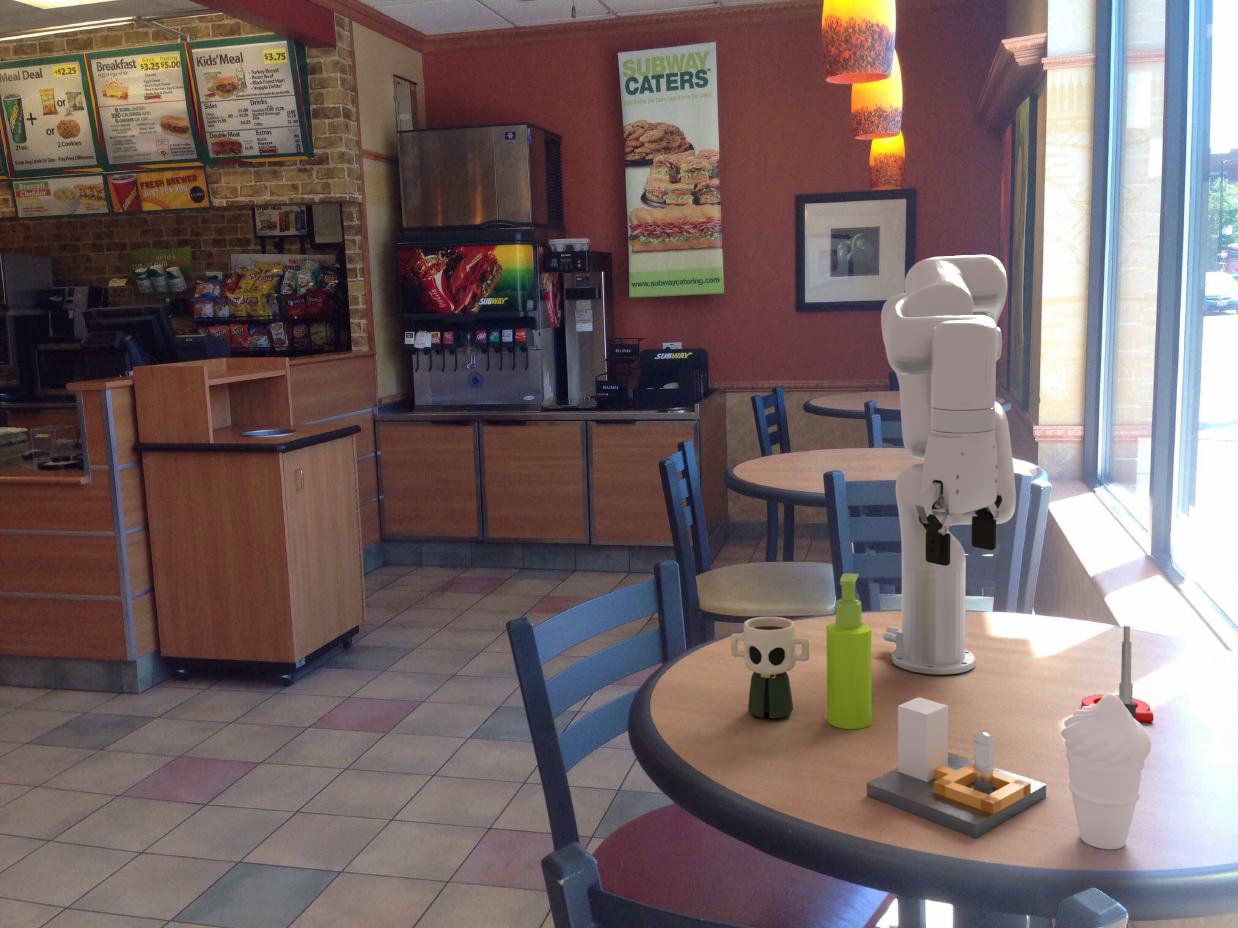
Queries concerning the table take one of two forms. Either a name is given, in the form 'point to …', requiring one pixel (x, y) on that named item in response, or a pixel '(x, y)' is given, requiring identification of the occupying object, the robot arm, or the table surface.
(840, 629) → the soap dispenser
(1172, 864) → the table surface
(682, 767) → the table surface
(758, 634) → the character mug
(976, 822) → the plate
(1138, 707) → the tow hook
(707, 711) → the table surface
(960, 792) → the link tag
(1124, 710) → the soft serve ice cream cone
